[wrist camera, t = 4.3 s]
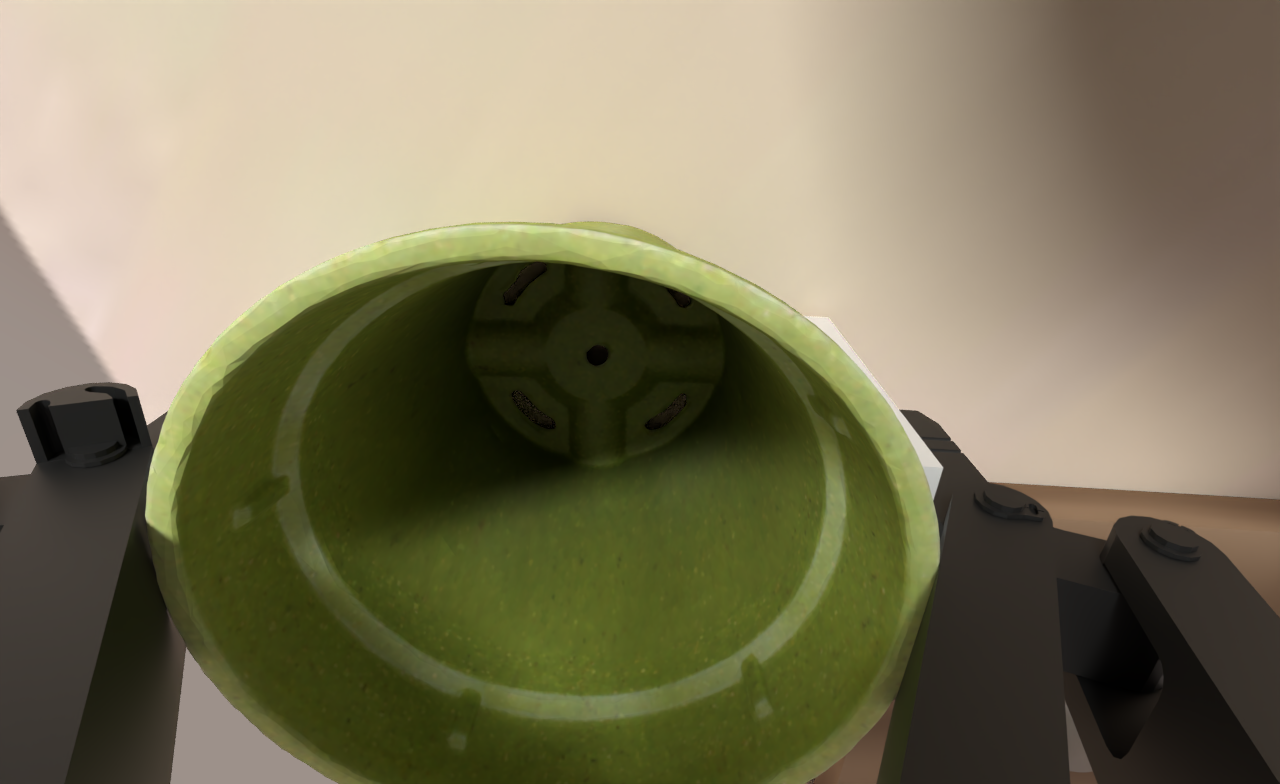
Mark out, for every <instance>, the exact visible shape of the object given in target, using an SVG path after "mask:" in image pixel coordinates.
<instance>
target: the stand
mask: <svg viewBox="0 0 1280 784" xmlns="http://www.w3.org/2000/svg"><path fill="white" fill-rule="evenodd" d="M989 483H992V482H989ZM994 484H999V485H1004V486H1006V487H1009V488H1012V489H1014V490H1017V491H1020V492H1022V493H1024V494H1026V495H1027V496H1029V497H1031V498H1033V499H1034V500H1036V501H1038V502H1039V503H1040V504H1041V505H1042V506H1043V507H1044V508H1045V509H1046V510H1047V511H1048V512H1049V514H1050V516H1051V519H1052V521H1053V527H1055V528H1058V529H1061V530H1065V531H1069V532H1074V533H1078V534H1082V535H1086V536H1090V537H1095V538H1099V539H1103V540H1107V538H1108V536H1109V534H1110V532H1111V530H1112V528H1113V525H1114V524H1115V523H1116V521H1117V520H1118V519H1119V518H1122V517H1126V516H1131V515H1133V516H1144V517H1152V518H1155V519H1159V520H1168V521H1171V522H1174V523H1177V524H1179V525H1178V526H1185V527H1187V528H1189V529H1191V530H1193V531H1194V532H1195V533H1196V534H1198V535H1199V536H1201V537H1203V538H1205V539H1206V540H1208V541H1210V542H1211V543H1213V544H1214V545H1215V546H1216V547H1217V548H1218V549H1220V550H1221V551H1222V552H1223V553H1224V554H1225V555H1226V556H1227V557H1228V558H1229V559H1230V561H1231V562H1232V563H1233V564H1234V565H1235V566H1236V568H1237V569H1238V570H1239V571H1240V572H1241V573H1242V575H1243V576H1244V577H1245V578H1246V579H1247V580H1248V581H1249V583H1250V584H1251V585H1252V586H1253V587H1254V588H1255V590H1256V591H1257V592H1258V593H1259V594H1260V595H1261V597H1262V598H1263V599H1264V600H1265V601H1266V602H1267V604H1268V605H1269V606H1270V607H1271V608H1272V609H1273V611H1274V612H1275V613H1276V614H1277V615H1278V616H1279V618H1280V500H1275V499H1259V498H1242V497H1225V496H1209V495H1192V494H1175V493H1159V492H1142V491H1125V490H1109V489H1092V488H1075V487H1059V486H1042V485H1025V484H1009V483H994ZM894 701H895V699H894V700H893V701H892V702H891V704H890V706H889V707H888V709H887V710H886V712H885V713H884V715H883V716H882V717H881V718H880V720H879V721H878V722H877V723H876V724H875V725H874V726H873V727H872V728H871V730H870V731H869V732H868V733H867V734H866V735H865V736H864V737H863V738H862V739H861V740H860V741H859V742H858V743H857V744H856V745H855V746H854V747H853V749H852V750H851V751H850V752H848V753H847V754H846V755H845V756H844V757H843V758H841V759H840V760H839V761H838V762H836V763H835V764H834V765H832V766H831V767H830V768H829V769H828V770H826V771H825V772H823V773H822V774H821V775H819V776H818V777H816V778H815V779H814V783H813V784H876V783H877V779H878V774H879V769H880V765H881V760H882V756H883V751H884V746H885V742H886V737H887V733H888V728H889V724H890V719H891V714H892V710H893V705H894ZM1065 710H1066V725H1067V740H1068V755H1069V770H1070V784H1098V783H1097V781H1096V778H1095V776H1094V773H1093V771H1092V768H1091V765H1090V763H1089V760H1088V758H1087V755H1086V753H1085V750H1084V748H1083V745H1082V742H1081V740H1080V737H1079V735H1078V732H1077V730H1076V727H1075V724H1074V722H1073V719H1072V717H1071V714H1070V712H1069V709H1068V707H1067V704H1066V701H1065Z"/></svg>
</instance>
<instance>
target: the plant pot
mask: <svg viewBox="0 0 1280 784" xmlns="http://www.w3.org/2000/svg"><path fill="white" fill-rule="evenodd" d="M533 262H543V263H545V264H546V266H547V271H546V272H545V273H543V274H542V275H540V276H538V278H537V279H536V280H534V281H533V282H532V283H531V284H529V285H528V286H527V288H526V289H525V290H524V291H523V292H522V293H521V294H520V296H519V297H518V298H517V300H516V302H515V303H514V304H513V305H506V304H505V300H504V298H503V294H504V292H505V291H506V290H508V289H509V288H510V286H511V285H512V284H513V283H515V281H516V279H517V277H518V274H519V273H520V271H521V270H522V269H524V268H525V267H526V266H528V265H530V264H532V263H533ZM665 287H667V288H670V289H673V290H676V291H678V292H681V293H683V294H685V295H687V296H689V297H690V302H691V303H690V304H689V306H687V307H686V308H683V307H680V306H679V305H678V304H677V303H676V300H675V299H674V298H673V297H672V295H671V294H670V293H669V292H668V290H667V289H666V288H665ZM595 345H600V346H603V347H605V348H606V349H607V350H608V358H607V360H606V361H605V362H604V363H603V364H600V365H597V366H594V365H592V364H591V363H589V362H588V360H587V355H586V353H587V351H588V350H590V349H591V348H592V347H593V346H595ZM514 391H521V392H522V393H523V394H524V395H525V396H526V397H527V398H528V399H529V400H530V401H531V403H532V404H533V405H534V406H535V407H536V408H537V409H538V410H539V411H541V412H542V413H543V414H545V415H547V416H549V417H551V418H552V419H553V420H554V421H555V424H556V427H555V428H554V429H551V428H550V429H547V428H544V427H541V426H539V425H537V424H536V423H534V422H532V421H531V420H529V418H528V417H527V416H526V415H525V414H523V413H522V412H521V411H520V410H519V408H518V407H517V406H516V404H515V402H514V401H513V399H512V392H514ZM681 393H683V394H686V400H687V404H686V405H685V407H684V408H683V409H682V410H681V411H680V412H679V413H678V414H677V415H676V416H675V417H674V418H673V419H672V420H671V421H670V422H669V423H667V424H666V425H664V426H662V427H661V428H659V429H652V430H649V429H647V428H646V427H645V423H646V422H647V421H649V420H650V419H651V418H652V417H654V416H656V415H657V414H659V413H662V412H664V411H665V410H666V409H667V407H668V406H669V405H670V404H672V403H673V401H674V400H675V399H676V398H677V397H678V396H679V395H680V394H681ZM145 518H146V526H147V532H148V538H149V542H150V547H151V552H152V559H153V564H154V567H155V571H156V576H157V582H158V585H159V588H160V591H161V593H162V596H163V599H164V602H165V605H166V607H167V610H168V612H169V614H170V616H171V618H172V621H173V623H174V625H175V626H176V628H177V630H178V632H179V634H180V635H181V637H182V638H183V640H184V642H185V645H186V647H187V649H188V650H189V652H190V653H191V655H192V656H193V658H194V659H195V660H196V662H197V663H198V664H199V665H200V667H201V669H202V670H203V672H204V674H205V675H206V676H207V677H208V678H209V679H210V680H211V681H212V682H213V683H214V684H215V686H216V687H217V688H218V689H219V691H220V692H221V693H222V694H223V696H224V697H225V698H226V699H227V700H228V701H229V702H230V703H231V704H232V705H233V706H234V707H235V708H236V709H238V710H239V711H240V712H241V713H242V714H243V715H244V716H245V717H246V718H247V719H248V720H249V721H250V722H251V723H252V724H254V725H255V726H256V727H257V728H258V729H259V730H260V731H261V732H262V733H263V734H264V735H265V736H266V737H268V738H269V739H270V740H272V741H273V742H274V743H276V744H277V745H278V746H279V747H280V748H281V749H283V750H285V751H287V752H289V753H290V754H291V755H292V756H294V757H295V758H297V759H299V760H301V761H302V762H304V763H306V764H307V765H309V766H310V767H312V768H313V769H315V770H316V771H318V772H319V773H321V774H323V775H324V776H325V777H327V778H329V779H331V780H333V781H335V782H337V783H338V784H806V783H807V782H809V781H810V780H812V779H814V778H816V777H818V776H819V775H821V774H822V773H823V772H825V771H826V770H828V769H829V768H830V767H831V766H832V765H834V764H835V763H836V762H838V761H839V760H840V759H841V758H843V757H844V756H845V755H846V754H847V753H848V752H850V751H851V750H852V749H853V747H854V746H855V745H856V744H857V743H858V742H859V741H860V740H861V739H862V738H863V737H864V736H865V735H866V734H867V733H868V732H869V731H870V730H871V728H872V727H873V726H874V725H875V724H876V723H877V722H878V721H879V720H880V718H881V717H882V716H883V715H884V713H885V712H886V710H887V709H888V707H889V706H890V704H891V702H892V701H893V700H894V699H895V698H896V697H897V694H898V691H899V688H900V685H901V682H902V679H903V676H904V673H905V670H906V667H907V663H908V660H909V657H910V654H911V651H912V648H913V645H914V642H915V639H916V636H917V633H918V630H919V627H920V624H921V621H922V618H923V615H924V611H925V608H926V605H927V602H928V599H929V596H930V593H931V590H932V587H933V584H934V581H935V578H936V575H937V572H938V569H939V565H940V536H939V527H938V520H937V515H936V511H935V506H934V502H933V498H932V495H931V491H930V487H929V483H928V480H927V478H926V475H925V472H924V469H923V467H922V464H921V462H920V460H919V457H918V455H917V453H916V451H915V449H914V447H913V445H912V443H911V441H910V440H909V438H908V436H907V434H906V432H905V430H904V428H903V427H902V425H901V423H900V422H899V420H898V419H897V417H896V415H895V413H894V411H893V409H892V408H891V407H890V405H889V404H888V402H887V401H886V400H885V398H884V397H883V396H882V395H881V393H880V392H879V391H878V390H877V388H876V387H875V386H874V384H873V383H872V382H871V381H870V379H869V378H868V377H867V376H866V375H865V373H864V372H863V371H862V370H861V369H860V368H859V367H858V365H857V364H856V363H855V362H854V361H853V360H852V359H851V358H850V357H849V356H848V355H847V354H846V353H845V352H844V351H843V350H842V349H841V348H840V346H839V345H838V344H837V343H836V342H834V341H833V340H832V339H831V338H830V337H829V336H828V335H826V334H825V333H824V332H823V331H822V330H821V329H820V328H818V327H817V326H816V325H815V324H814V323H812V322H811V321H810V320H808V319H807V318H805V317H804V316H803V315H801V314H800V313H799V312H797V311H796V310H794V309H793V308H792V307H790V306H789V305H788V304H786V303H785V302H783V301H782V300H780V299H778V298H777V297H775V296H774V295H772V294H770V293H769V292H767V291H765V290H764V289H762V288H761V287H759V286H757V285H756V284H754V283H752V282H750V281H748V280H745V279H743V278H741V277H739V276H737V275H735V274H733V273H731V272H729V271H727V270H725V269H723V268H721V267H719V266H717V265H715V264H713V263H710V262H708V261H705V260H703V259H700V258H698V257H695V256H693V255H690V254H688V253H685V252H683V251H680V250H677V249H676V248H674V247H673V246H671V245H670V244H668V243H667V242H665V241H663V240H662V239H660V238H659V237H657V236H655V235H652V234H650V233H648V232H645V231H643V230H641V229H638V228H635V227H631V226H626V225H620V224H613V223H606V222H574V223H567V224H552V223H529V222H490V223H471V224H464V225H456V226H449V227H442V228H434V229H428V230H424V231H419V232H415V233H410V234H406V235H401V236H397V237H392V238H389V239H386V240H382V241H379V242H376V243H373V244H370V245H367V246H364V247H361V248H358V249H355V250H353V251H350V252H347V253H345V254H342V255H340V256H337V257H335V258H333V259H330V260H328V261H326V262H323V263H321V264H319V265H317V266H315V267H313V268H312V269H310V270H308V271H306V272H304V273H302V274H300V275H298V276H297V277H295V278H293V279H291V280H290V281H288V282H286V283H284V284H282V285H281V286H279V287H278V288H276V289H275V290H274V291H273V292H271V293H270V294H268V295H267V296H265V297H263V298H262V299H260V300H259V301H258V302H256V303H255V304H254V305H253V306H252V307H251V308H249V309H248V310H247V311H246V312H244V313H243V314H242V315H241V316H240V317H239V318H237V319H236V320H235V321H234V322H233V323H232V324H231V325H230V326H229V327H228V328H227V329H226V330H225V331H224V332H223V333H222V334H221V335H220V336H219V337H217V339H216V340H215V341H214V343H213V344H212V345H211V347H210V348H209V349H208V350H207V352H206V353H205V354H204V355H203V357H202V358H201V359H200V360H199V361H198V362H197V364H196V365H195V366H194V368H193V370H192V372H191V373H190V374H189V375H188V377H187V378H186V379H185V381H184V382H183V384H182V386H181V387H180V389H179V391H178V393H177V395H176V396H175V398H174V400H173V402H172V404H171V406H170V408H169V410H168V413H167V415H166V418H165V420H164V423H163V425H162V429H161V432H160V436H159V440H158V443H157V445H156V448H155V450H154V454H153V458H152V462H151V465H150V471H149V477H148V482H147V497H146V511H145Z"/></svg>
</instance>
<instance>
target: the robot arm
mask: <svg viewBox="0 0 1280 784" xmlns="http://www.w3.org/2000/svg"><path fill="white" fill-rule="evenodd" d="M804 317H805V318H807V319H808V320H810V321H811V322H812V323H814V324H815V325H816V326H817V327H818V328H820V329H821V330H822V331H823V332H824V333H825V334H826V335H828V336H829V337H830V338H831V339H832V340H833V341H834V342H836V343H837V344H838V345H839V346H840V348H841V349H842V350H843V351H844V352H845V353H846V354H847V355H848V356H849V357H850V358H851V359H852V360H853V361H854V362H855V363H856V364H857V365H858V367H859V368H860V369H861V370H862V371H863V372H864V373H865V375H866V376H867V377H868V378H869V379H870V381H871V382H872V383H873V384H874V386H875V387H876V388H877V390H878V391H879V392H880V393H881V395H882V396H883V397H884V398H885V400H886V401H887V402H888V404H889V405H890V407H891V408H892V409H893V411H894V413H895V415H896V417H897V419H898V420H899V422H900V423H901V425H902V427H903V428H904V430H905V432H906V434H907V436H908V438H909V440H910V441H911V443H912V445H913V447H914V449H915V451H916V453H917V455H918V457H919V460H920V462H921V464H922V467H923V469H924V472H925V475H926V478H927V480H928V483H929V487H930V491H931V495H932V498H933V502H934V506H935V511H936V515H937V520H938V527H939V536H940V565H939V569H938V572H937V575H936V578H935V581H934V584H933V587H932V590H931V593H930V596H929V599H928V602H927V605H926V608H925V611H924V615H923V618H922V621H921V624H920V627H919V630H918V633H917V636H916V639H915V642H914V645H913V648H912V651H911V654H910V657H909V660H908V663H907V667H906V670H905V673H904V676H903V679H902V682H901V685H900V688H899V691H898V694H897V697H896V698H895V701H894V705H893V710H892V714H891V719H890V724H889V728H888V733H887V737H886V742H885V746H884V751H883V756H882V760H881V765H880V769H879V774H878V779H877V783H876V784H1070V770H1069V755H1068V740H1067V725H1066V710H1065V701H1066V704H1067V707H1068V709H1069V712H1070V714H1071V717H1072V719H1073V722H1074V724H1075V727H1076V730H1077V732H1078V735H1079V737H1080V740H1081V742H1082V745H1083V748H1084V750H1085V753H1086V755H1087V758H1088V760H1089V763H1090V765H1091V768H1092V771H1093V773H1094V776H1095V778H1096V781H1097V783H1098V784H1280V618H1279V616H1278V615H1277V614H1276V613H1275V612H1274V611H1273V609H1272V608H1271V607H1270V606H1269V605H1268V604H1267V602H1266V601H1265V600H1264V599H1263V598H1262V597H1261V595H1260V594H1259V593H1258V592H1257V591H1256V590H1255V588H1254V587H1253V586H1252V585H1251V584H1250V583H1249V581H1248V580H1247V579H1246V578H1245V577H1244V576H1243V575H1242V573H1241V572H1240V571H1239V570H1238V569H1237V568H1236V566H1235V565H1234V564H1233V563H1232V562H1231V561H1230V559H1229V558H1228V557H1227V556H1226V555H1225V554H1224V553H1223V552H1222V551H1221V550H1220V549H1218V548H1217V547H1216V546H1215V545H1214V544H1213V543H1211V542H1210V541H1208V540H1206V539H1205V538H1203V537H1201V536H1199V535H1198V534H1196V533H1195V532H1194V531H1193V530H1191V529H1189V528H1187V527H1185V526H1178V525H1179V524H1177V523H1174V522H1171V521H1168V520H1159V519H1155V518H1152V517H1144V516H1133V515H1131V516H1126V517H1122V518H1119V519H1118V520H1117V521H1116V523H1115V524H1114V525H1113V528H1112V530H1111V532H1110V534H1109V536H1108V538H1107V540H1103V539H1099V538H1095V537H1090V536H1086V535H1082V534H1078V533H1074V532H1069V531H1065V530H1061V529H1058V528H1055V527H1053V521H1052V519H1051V516H1050V514H1049V512H1048V511H1047V510H1046V509H1045V508H1044V507H1043V506H1042V505H1041V504H1040V503H1039V502H1038V501H1036V500H1034V499H1033V498H1031V497H1029V496H1027V495H1026V494H1024V493H1022V492H1020V491H1017V490H1014V489H1012V488H1009V487H1006V486H1004V485H999V484H994V483H989V482H987V481H986V480H985V478H984V477H983V476H982V475H981V474H980V472H979V471H978V470H977V469H976V468H975V467H974V465H973V464H972V463H971V462H970V461H969V459H968V458H967V457H966V456H965V455H964V454H963V453H961V450H960V449H959V448H958V446H957V445H956V444H955V443H954V442H953V441H951V438H950V437H949V436H948V435H947V433H946V432H945V431H944V430H943V429H942V428H941V426H940V425H939V424H938V423H936V422H935V421H933V420H931V419H930V418H928V417H926V416H925V415H923V414H922V413H920V412H918V411H912V410H899V409H898V408H897V406H896V405H895V404H894V402H893V401H892V400H891V398H890V397H889V396H888V395H887V393H886V392H885V391H884V389H883V388H882V387H881V385H880V384H879V383H878V381H877V380H876V379H875V378H874V376H873V375H872V374H871V372H870V371H869V370H868V368H867V367H866V366H865V364H864V363H863V362H862V361H861V359H860V358H859V357H858V355H857V354H856V353H855V351H854V350H853V349H852V347H851V346H850V345H849V344H848V342H847V341H846V340H845V338H844V337H843V336H842V334H841V333H840V332H839V330H838V329H837V328H836V326H835V325H834V324H833V323H832V321H831V320H830V319H829V317H816V316H804ZM17 413H18V416H19V418H20V421H21V424H22V426H23V429H24V432H25V434H26V437H27V440H28V442H29V445H30V447H31V450H32V452H33V455H34V458H35V461H36V463H37V464H36V466H35V468H34V470H33V471H32V473H31V474H28V475H19V476H9V477H0V784H170V780H171V772H172V763H173V755H174V745H175V738H176V729H177V721H178V712H179V703H180V694H181V685H182V678H183V669H184V661H185V660H184V659H185V652H186V645H185V642H184V640H183V638H182V637H181V635H180V634H179V632H178V630H177V628H176V626H175V625H174V623H173V621H172V618H171V616H170V614H169V612H168V610H167V607H166V605H165V602H164V599H163V596H162V593H161V591H160V588H159V585H158V582H157V576H156V571H155V567H154V564H153V559H152V552H151V547H150V542H149V538H148V532H147V526H146V518H145V511H146V497H147V482H148V477H149V471H150V465H151V462H152V458H153V454H154V450H155V448H156V445H157V443H158V440H159V436H160V432H161V429H162V425H163V423H164V420H165V418H166V415H167V413H168V411H167V412H166V413H165V414H163V415H162V416H160V417H159V418H157V419H156V420H155V421H153V422H152V423H150V424H149V425H146V421H145V418H144V414H143V411H142V407H141V404H140V400H139V397H138V394H137V390H136V388H133V387H131V386H129V385H127V384H119V383H110V382H108V383H89V384H83V385H77V386H71V387H66V388H62V389H58V390H55V391H52V392H48V393H45V394H42V395H40V396H38V397H36V398H34V399H31V400H29V401H27V402H25V403H24V404H23V405H22V406H21V407H20V408H18V409H17Z"/></svg>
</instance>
